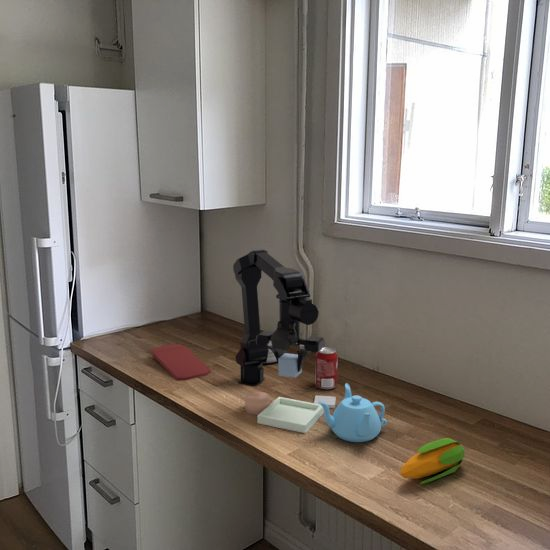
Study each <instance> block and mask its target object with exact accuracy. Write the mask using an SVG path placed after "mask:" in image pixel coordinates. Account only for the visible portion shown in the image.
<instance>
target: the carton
mask: <svg viewBox="0 0 550 550" xmlns="http://www.w3.org/2000/svg"><path fill="white" fill-rule="evenodd" d="M151 351H152V358H153V360H156V361H158V363H159V364H160V365H161V366H162V367H163V368H164V369H165V370H166V371H167V373H169V374H170V376H172V377H173V378H174V379H175V381H187V380H192V379H196V378H200V377H201V378H202V377H205V376H207V375H210V374H211V372H212V371H211V369H210V367H209V366H207V365H206V364H205V363H204V361H202V360H201V359H200V358H199V357H198V356H196V355H195V353H193V352H192V351H191V350H190V349H189V348H188V347H187V346H185V345H182V344H178V343H177V344H174V343H173V344H167V345H164V346H163V345H162V346H158V347H157V346H156V347H153V348H152V350H151Z"/></svg>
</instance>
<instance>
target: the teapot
mask: <svg viewBox="0 0 550 550" xmlns="http://www.w3.org/2000/svg"><path fill="white" fill-rule="evenodd" d="M344 388H345V389H344V398H343V399H342V400H341V401H340V402H339V404H338V405H337V407H335V408H334V412H333V413H332V414H331V411H330V408H329V407H328V405H327V404H326V403H324V402H318V403H319V404H320V405H322V407H323V409H324V413H323V417H324V420H325V423H326V425H328V426H329V427H330V428H331V430H332V432H333V433H334V434H335V435H336V436H337V437H338V438H339V439H341V440H343V441H345V442H350V443H365V442H369V441H371V440H373V439H375V438H376V437H378V435H379V434H380V432H381V430H382V428H383V427H385V426H386V425H387V419H386V418H383V417H384V416H385V413H386V408H385V405H384V404H383V402H380V401H373V402H371V401H370V400H368V399H366V398H364V397H362V396H360V395H352V391H351V387H350V384H349V383H347V382H346V383H345V384H344ZM376 406H380V413H378V411H377V410H376V408H375V407H376Z"/></svg>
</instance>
